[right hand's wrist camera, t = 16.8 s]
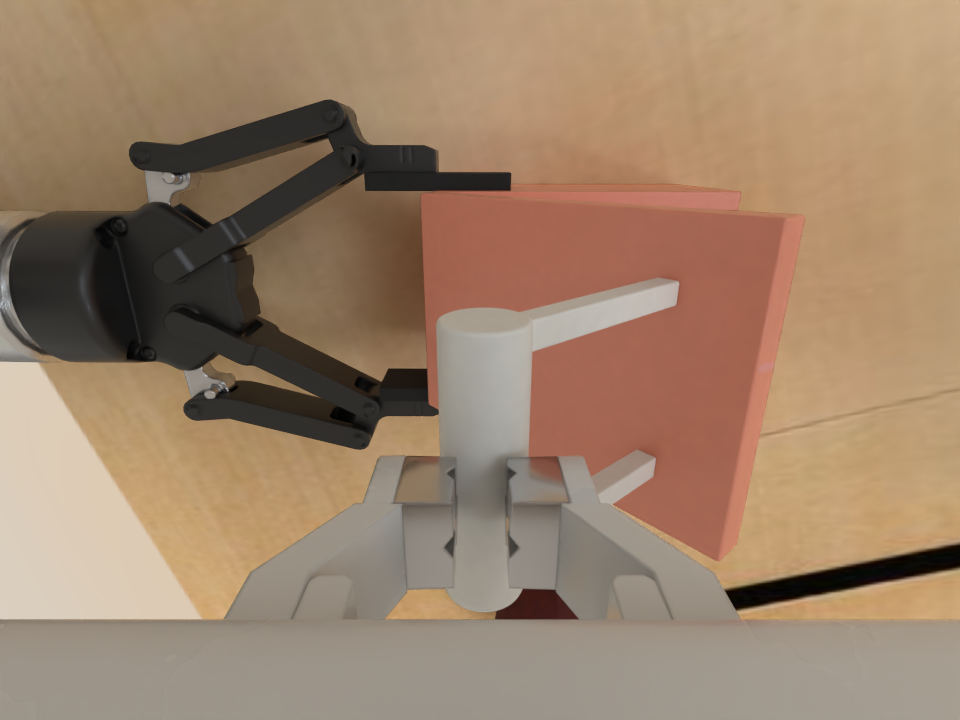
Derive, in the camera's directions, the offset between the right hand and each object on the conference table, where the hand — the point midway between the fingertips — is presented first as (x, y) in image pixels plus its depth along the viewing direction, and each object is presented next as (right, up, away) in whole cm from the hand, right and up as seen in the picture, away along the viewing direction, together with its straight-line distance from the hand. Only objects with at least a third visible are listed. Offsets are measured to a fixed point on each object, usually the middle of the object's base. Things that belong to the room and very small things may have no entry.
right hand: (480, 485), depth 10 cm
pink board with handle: (+3, +3, +9) cm, 10 cm away
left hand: (+1, +6, +16) cm, 17 cm away
